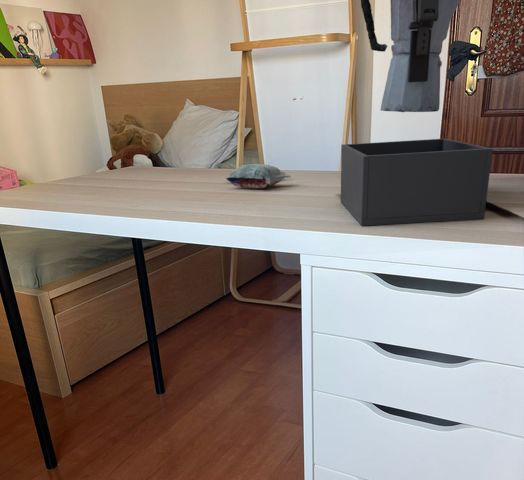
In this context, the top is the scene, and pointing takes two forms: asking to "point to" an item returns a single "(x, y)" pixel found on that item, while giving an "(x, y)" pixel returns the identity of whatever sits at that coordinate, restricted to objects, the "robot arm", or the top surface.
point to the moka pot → (397, 86)
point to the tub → (414, 181)
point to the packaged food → (256, 176)
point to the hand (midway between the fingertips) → (409, 82)
